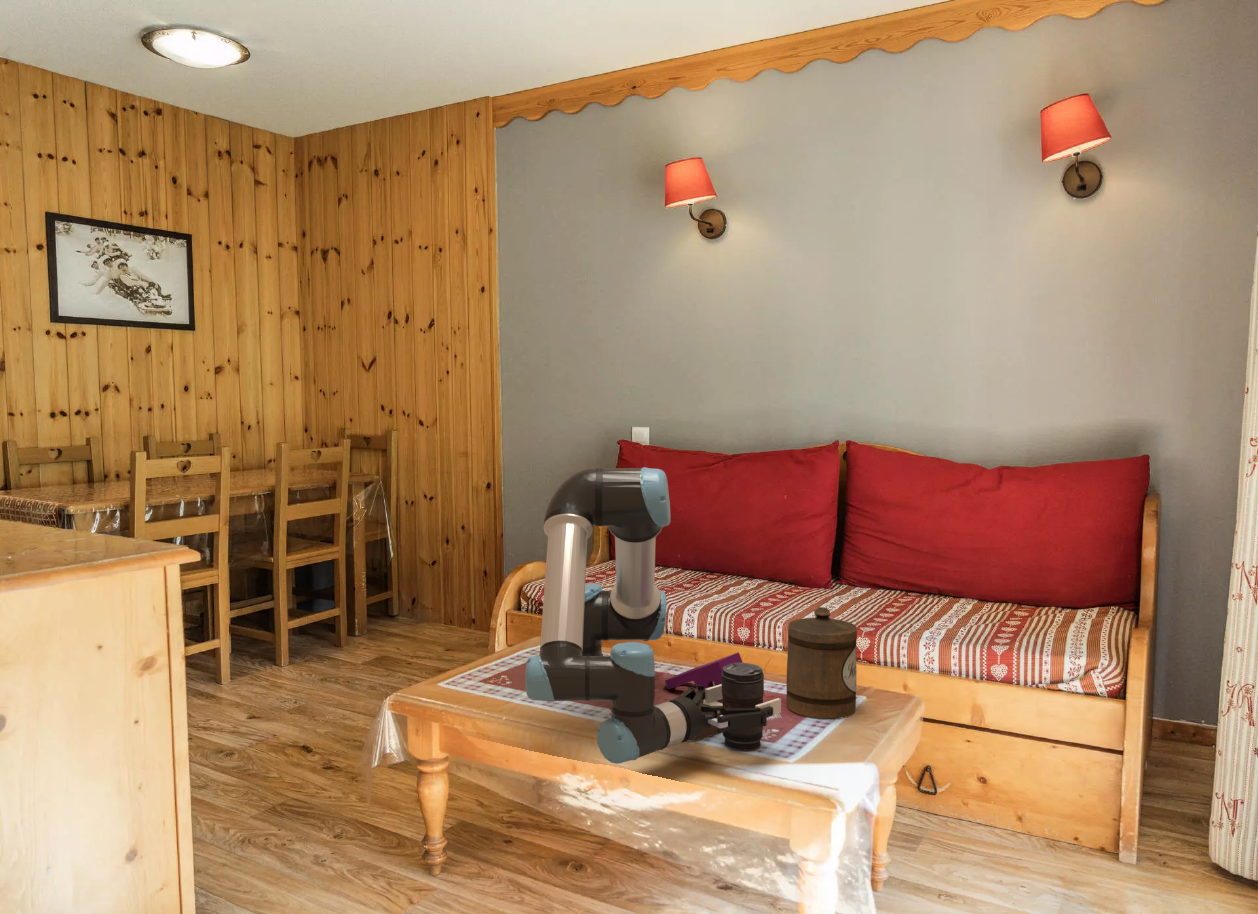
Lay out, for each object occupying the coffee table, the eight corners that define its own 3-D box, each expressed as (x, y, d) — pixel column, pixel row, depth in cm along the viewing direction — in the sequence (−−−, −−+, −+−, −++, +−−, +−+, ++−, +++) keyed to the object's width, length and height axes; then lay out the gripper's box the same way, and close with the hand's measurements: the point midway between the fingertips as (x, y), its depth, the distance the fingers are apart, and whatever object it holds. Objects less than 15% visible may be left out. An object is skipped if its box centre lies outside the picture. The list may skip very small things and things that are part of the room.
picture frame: (652, 725, 180) (652, 704, 180) (693, 712, 188) (693, 691, 188) (693, 741, 171) (693, 719, 171) (735, 727, 179) (735, 705, 179)
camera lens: (714, 747, 169) (714, 670, 168) (732, 734, 175) (732, 660, 175) (753, 755, 164) (753, 676, 164) (770, 741, 171) (770, 666, 170)
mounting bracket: (670, 719, 201) (732, 698, 191) (656, 683, 203) (717, 661, 193) (692, 707, 209) (752, 687, 199) (679, 673, 211) (738, 652, 201)
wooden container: (865, 718, 184) (866, 615, 183) (795, 720, 183) (796, 616, 182) (844, 696, 199) (845, 599, 198) (779, 697, 198) (780, 600, 197)
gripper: (629, 724, 167) (708, 700, 181) (723, 763, 149) (803, 733, 163) (629, 685, 167) (708, 664, 181) (723, 719, 148) (803, 693, 162)
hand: (753, 697), depth 172 cm, fingers open, 12 cm apart
